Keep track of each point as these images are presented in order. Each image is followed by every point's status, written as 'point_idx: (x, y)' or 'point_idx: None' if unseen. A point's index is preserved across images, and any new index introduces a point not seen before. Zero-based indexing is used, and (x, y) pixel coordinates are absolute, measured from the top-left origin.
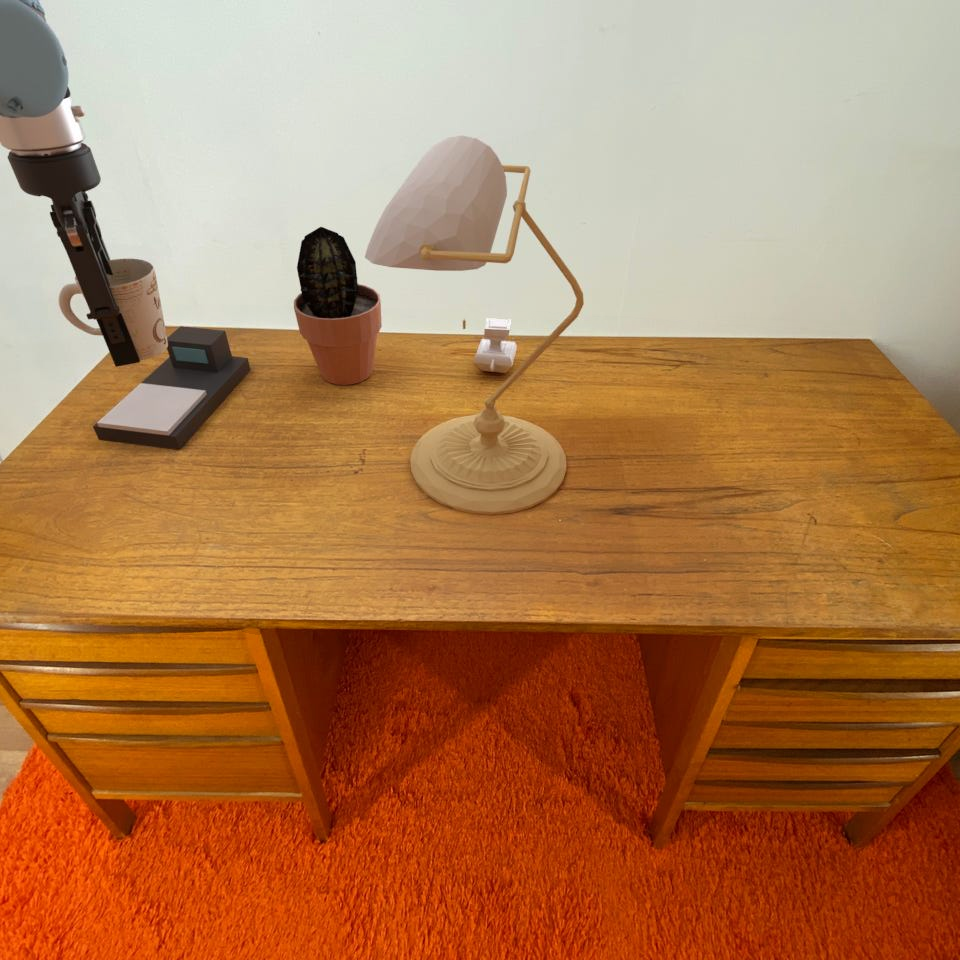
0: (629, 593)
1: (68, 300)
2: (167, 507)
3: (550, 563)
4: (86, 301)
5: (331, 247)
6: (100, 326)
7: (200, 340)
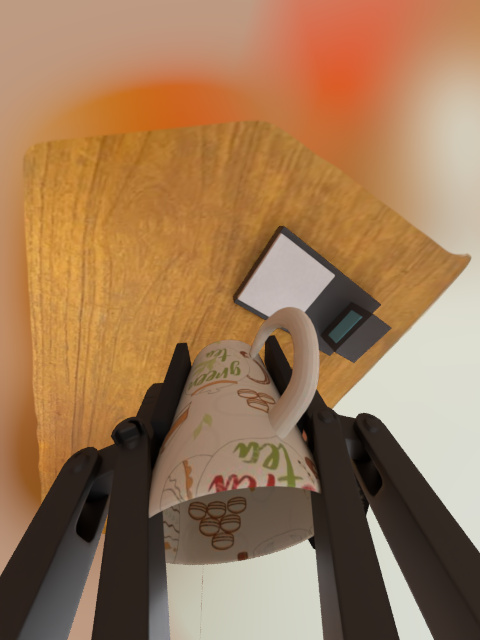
0: (56, 468)
1: (294, 352)
2: (156, 286)
3: (77, 451)
4: (31, 523)
5: (313, 543)
6: (157, 401)
7: (349, 344)
